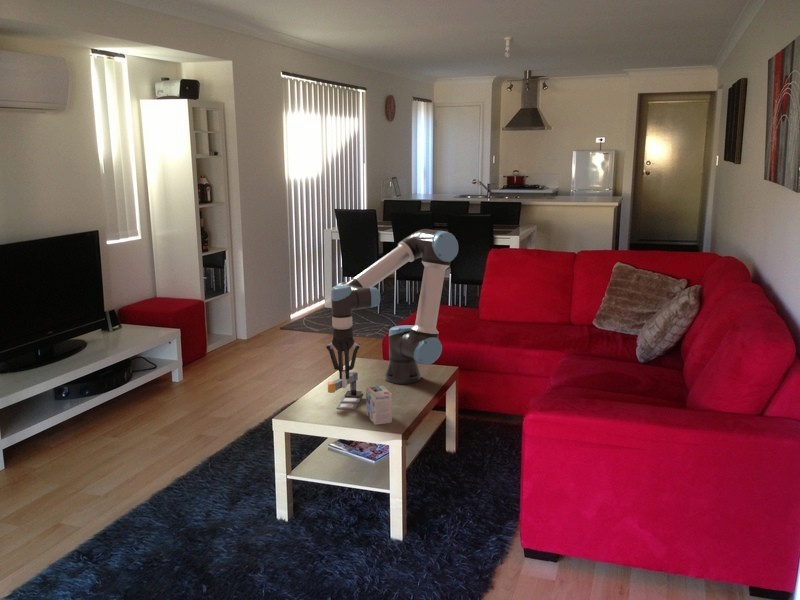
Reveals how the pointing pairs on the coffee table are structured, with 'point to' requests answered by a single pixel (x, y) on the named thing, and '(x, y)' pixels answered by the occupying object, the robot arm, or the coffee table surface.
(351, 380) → the cable arm
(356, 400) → the label
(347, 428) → the coffee table surface
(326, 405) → the coffee table surface
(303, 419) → the coffee table surface
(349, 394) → the post
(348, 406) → the label
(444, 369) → the coffee table surface
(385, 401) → the light bulb box
